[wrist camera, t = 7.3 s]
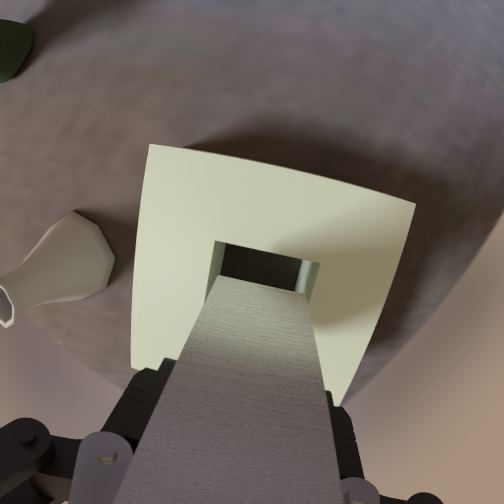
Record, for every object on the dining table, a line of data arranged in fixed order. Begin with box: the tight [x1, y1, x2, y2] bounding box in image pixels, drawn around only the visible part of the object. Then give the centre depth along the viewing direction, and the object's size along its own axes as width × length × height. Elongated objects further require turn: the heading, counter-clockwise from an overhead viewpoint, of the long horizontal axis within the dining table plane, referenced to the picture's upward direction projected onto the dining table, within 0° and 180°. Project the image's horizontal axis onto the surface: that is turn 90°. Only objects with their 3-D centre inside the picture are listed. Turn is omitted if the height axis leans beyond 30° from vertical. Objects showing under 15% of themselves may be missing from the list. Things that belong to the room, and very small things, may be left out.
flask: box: [0, 211, 115, 328], centre depth 19 cm, size 7×7×10 cm
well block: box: [131, 144, 416, 406], centre depth 20 cm, size 14×14×6 cm
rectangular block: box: [112, 275, 343, 504], centre depth 8 cm, size 4×4×14 cm
